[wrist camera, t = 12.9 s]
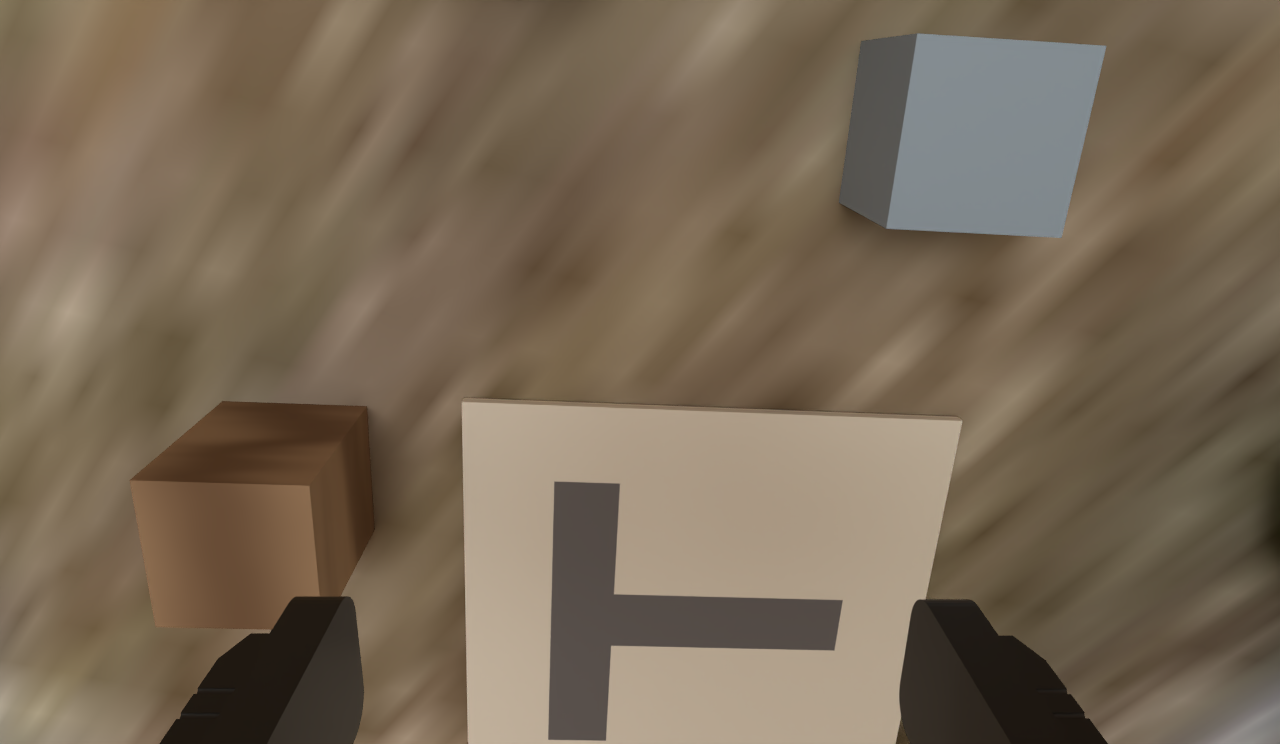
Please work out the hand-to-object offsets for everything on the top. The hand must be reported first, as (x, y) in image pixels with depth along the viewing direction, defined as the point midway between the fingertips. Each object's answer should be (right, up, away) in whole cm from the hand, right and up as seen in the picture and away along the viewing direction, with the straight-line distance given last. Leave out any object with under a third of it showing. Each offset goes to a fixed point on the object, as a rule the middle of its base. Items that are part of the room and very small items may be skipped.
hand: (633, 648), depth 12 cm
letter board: (+2, -6, +21) cm, 22 cm away
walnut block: (-12, +1, +18) cm, 22 cm away
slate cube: (+9, +12, +15) cm, 21 cm away
